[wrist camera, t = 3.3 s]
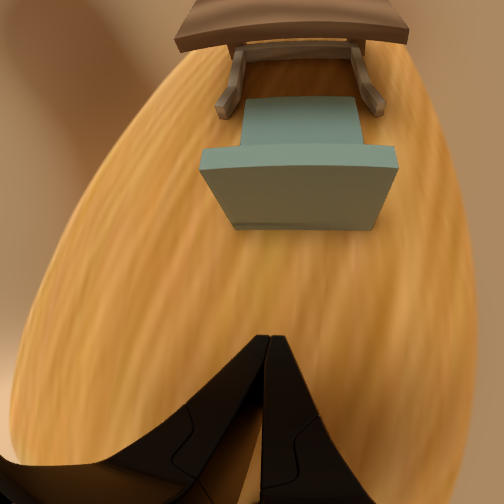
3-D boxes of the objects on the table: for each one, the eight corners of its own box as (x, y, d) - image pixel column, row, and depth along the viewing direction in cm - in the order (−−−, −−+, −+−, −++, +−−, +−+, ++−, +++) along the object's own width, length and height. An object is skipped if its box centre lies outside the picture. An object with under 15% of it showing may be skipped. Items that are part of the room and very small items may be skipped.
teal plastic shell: (370, 231, 22) (398, 168, 14) (235, 230, 24) (198, 169, 16) (353, 106, 27) (359, 36, 18) (248, 108, 29) (228, 41, 20)
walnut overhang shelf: (387, 131, 25) (409, 29, 14) (216, 133, 28) (173, 39, 17) (360, 46, 30) (362, -30, 19) (234, 50, 33) (211, -22, 22)
